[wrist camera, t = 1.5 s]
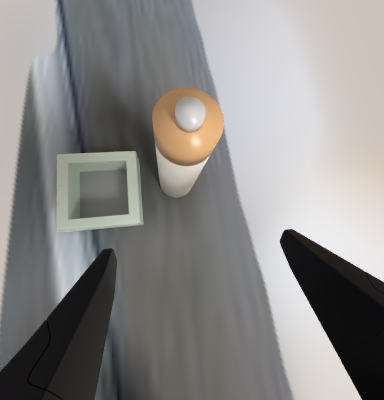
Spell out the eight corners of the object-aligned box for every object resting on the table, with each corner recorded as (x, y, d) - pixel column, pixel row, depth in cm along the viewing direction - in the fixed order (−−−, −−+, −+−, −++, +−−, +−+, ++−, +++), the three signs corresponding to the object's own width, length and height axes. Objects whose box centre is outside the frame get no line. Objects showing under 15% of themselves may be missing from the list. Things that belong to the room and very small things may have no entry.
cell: (194, 196, 23) (233, 145, 10) (161, 199, 23) (154, 148, 9) (190, 165, 24) (223, 76, 11) (158, 166, 23) (148, 75, 10)
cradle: (143, 224, 22) (140, 223, 19) (71, 231, 21) (56, 231, 18) (139, 161, 23) (135, 151, 20) (71, 164, 22) (56, 154, 19)
